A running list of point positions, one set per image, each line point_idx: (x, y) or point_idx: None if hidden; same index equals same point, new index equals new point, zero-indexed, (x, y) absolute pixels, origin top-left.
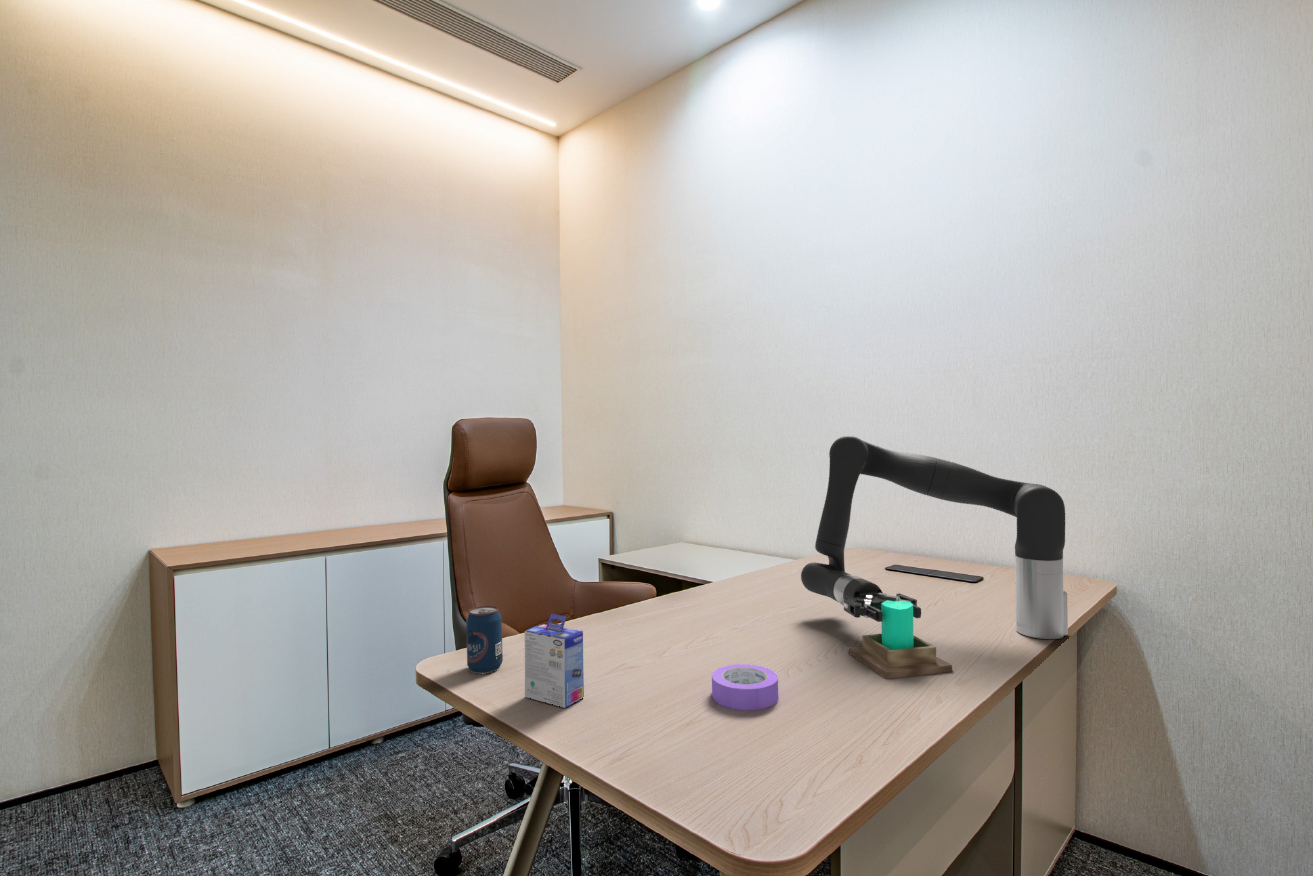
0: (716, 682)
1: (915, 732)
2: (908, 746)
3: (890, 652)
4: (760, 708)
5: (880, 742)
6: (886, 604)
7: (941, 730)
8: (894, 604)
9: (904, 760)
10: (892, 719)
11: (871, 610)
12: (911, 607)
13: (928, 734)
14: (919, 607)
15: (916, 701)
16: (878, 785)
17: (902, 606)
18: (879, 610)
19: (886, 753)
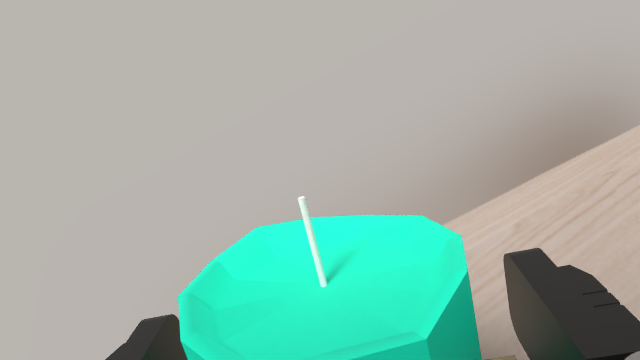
0: None
1: (542, 197)
2: (567, 174)
3: (510, 358)
4: None
5: (621, 174)
6: (396, 321)
7: (487, 205)
8: (312, 321)
9: (583, 157)
10: (584, 218)
11: (604, 313)
12: (270, 233)
13: (518, 196)
14: (143, 320)
15: (494, 273)
16: (631, 130)
17: (286, 280)
18: (522, 255)
19: (612, 161)
